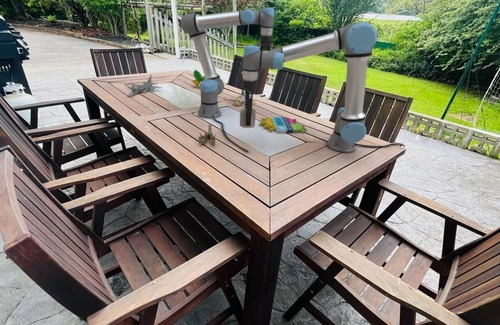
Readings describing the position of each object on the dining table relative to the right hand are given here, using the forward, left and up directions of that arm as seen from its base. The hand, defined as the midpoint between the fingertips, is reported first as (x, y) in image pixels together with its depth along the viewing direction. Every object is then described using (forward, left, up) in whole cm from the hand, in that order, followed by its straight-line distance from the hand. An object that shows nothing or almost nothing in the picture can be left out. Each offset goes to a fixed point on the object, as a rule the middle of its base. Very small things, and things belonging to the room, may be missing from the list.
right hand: (247, 122), depth 141 cm
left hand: (-14, -54, +19) cm, 58 cm away
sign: (-26, -31, -13) cm, 43 cm away
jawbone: (+21, -3, -13) cm, 25 cm away
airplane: (+83, -105, -13) cm, 135 cm away
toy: (-2, -85, -13) cm, 86 cm away
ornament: (+33, -128, -13) cm, 133 cm away
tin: (0, 0, -1) cm, 1 cm away
